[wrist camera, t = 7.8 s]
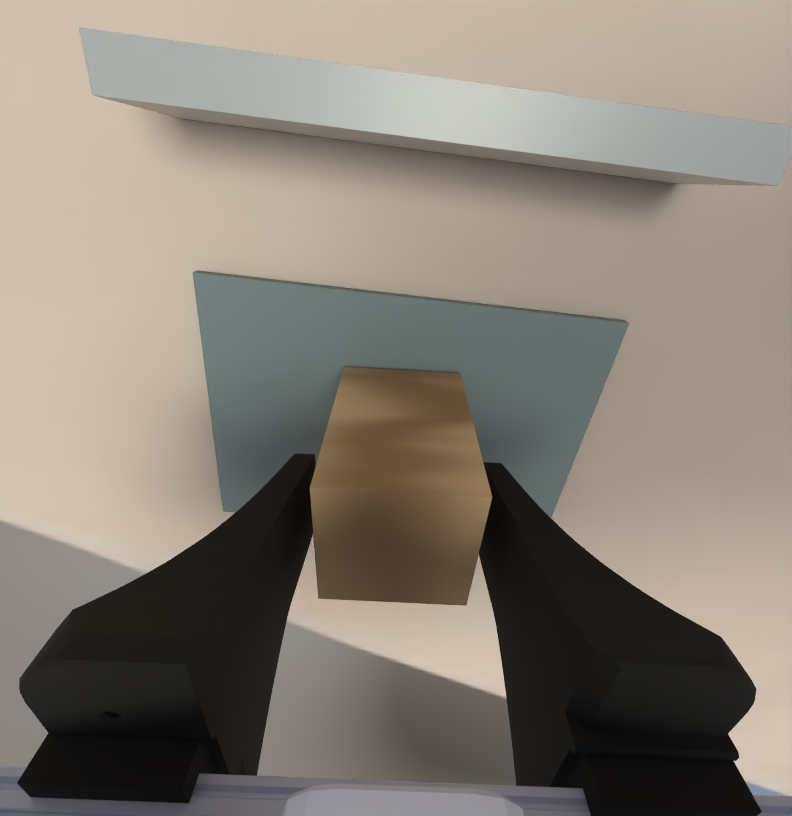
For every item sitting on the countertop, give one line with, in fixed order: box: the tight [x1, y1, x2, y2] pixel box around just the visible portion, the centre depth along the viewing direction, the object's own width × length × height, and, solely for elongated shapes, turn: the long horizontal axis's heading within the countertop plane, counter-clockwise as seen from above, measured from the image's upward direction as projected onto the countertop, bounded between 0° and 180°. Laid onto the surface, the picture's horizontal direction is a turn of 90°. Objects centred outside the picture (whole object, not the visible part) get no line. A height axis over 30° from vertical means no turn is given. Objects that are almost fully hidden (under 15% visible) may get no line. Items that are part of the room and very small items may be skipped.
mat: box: [193, 271, 629, 518], centre depth 16 cm, size 14×10×1 cm
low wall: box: [79, 27, 792, 186], centre depth 10 cm, size 14×1×4 cm, turn 84°
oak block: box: [310, 367, 492, 605], centre depth 13 cm, size 4×4×6 cm
